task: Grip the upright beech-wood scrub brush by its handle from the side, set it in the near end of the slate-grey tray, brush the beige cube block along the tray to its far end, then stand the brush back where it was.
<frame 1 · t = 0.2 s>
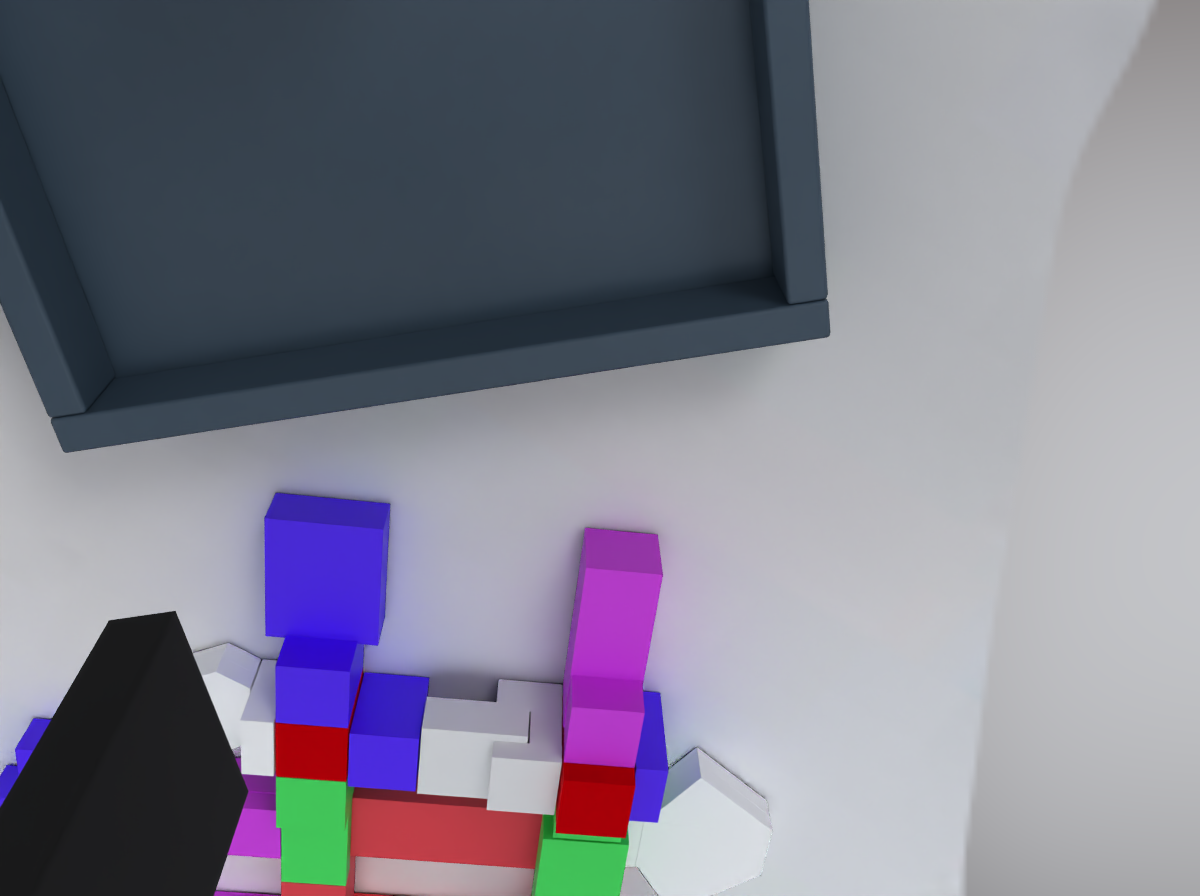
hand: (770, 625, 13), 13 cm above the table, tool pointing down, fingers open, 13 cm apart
building block set: (396, 878, 33), on the table
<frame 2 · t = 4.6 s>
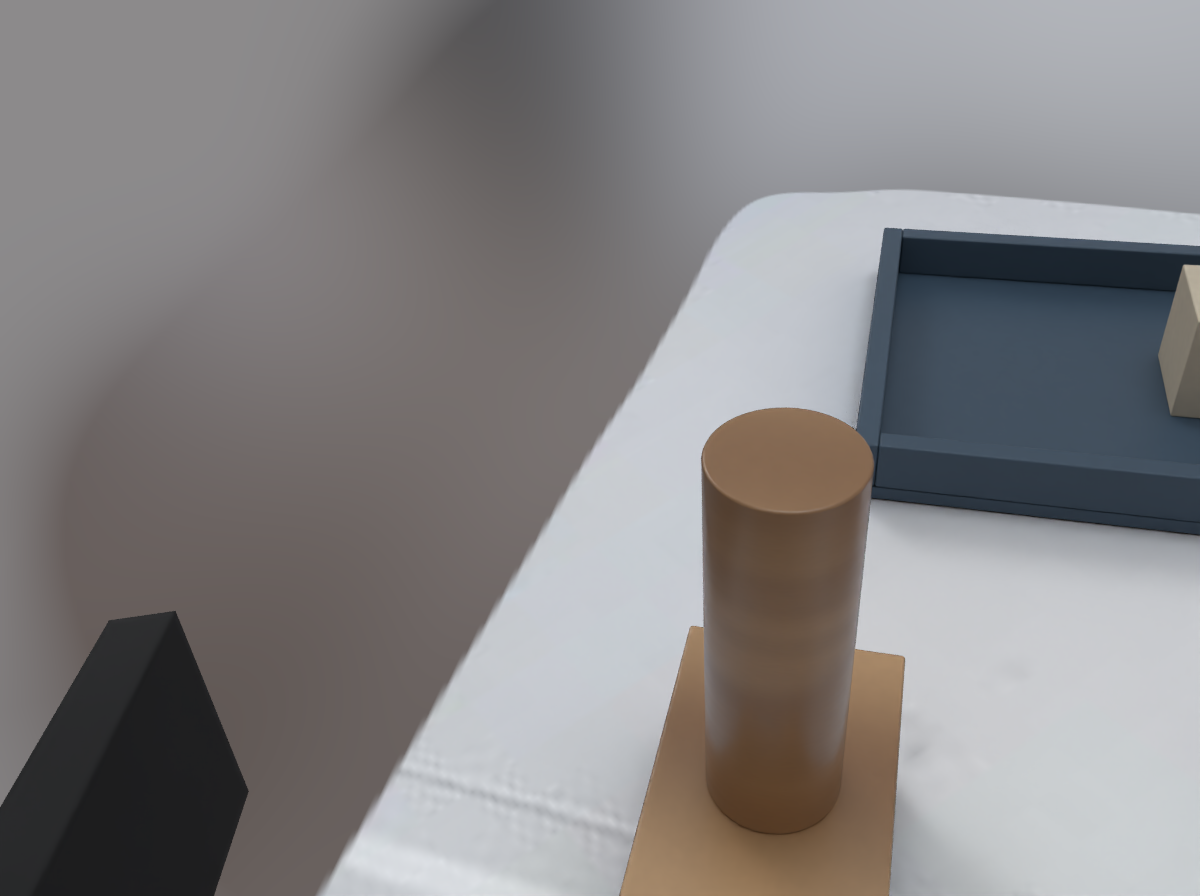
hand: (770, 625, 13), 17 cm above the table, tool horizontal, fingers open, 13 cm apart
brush: (767, 884, 29), on the table
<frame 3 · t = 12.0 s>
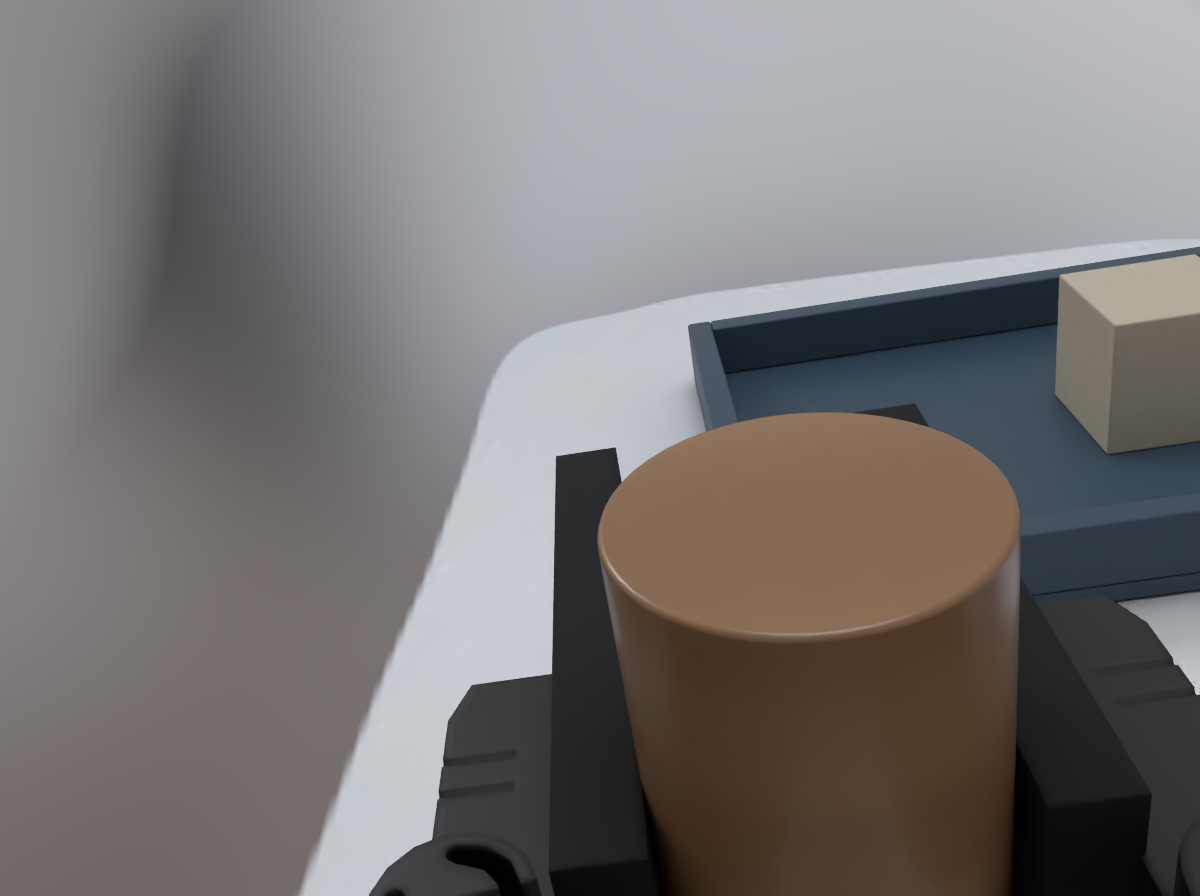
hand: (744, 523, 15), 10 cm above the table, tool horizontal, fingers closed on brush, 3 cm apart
beige cube block: (1147, 413, 34), resting on tray
tray: (1129, 430, 34), on the table
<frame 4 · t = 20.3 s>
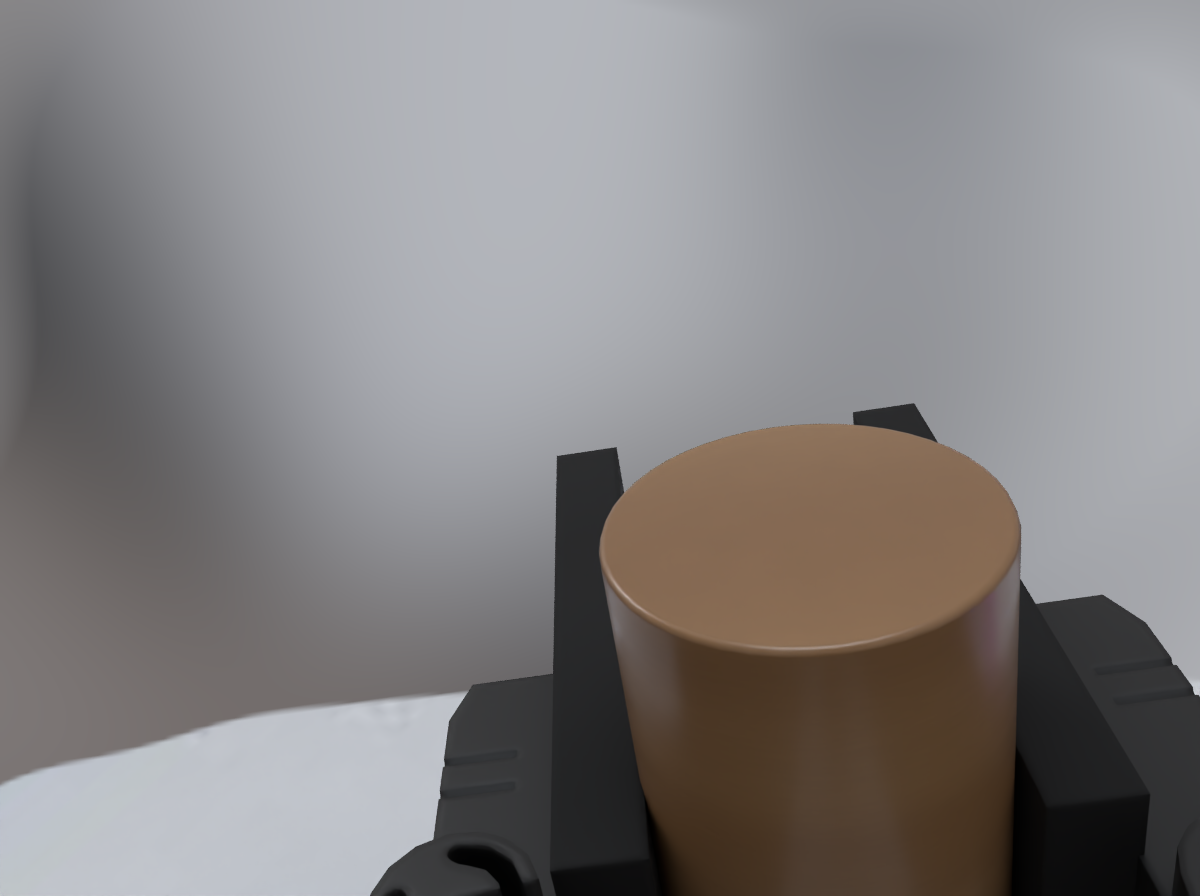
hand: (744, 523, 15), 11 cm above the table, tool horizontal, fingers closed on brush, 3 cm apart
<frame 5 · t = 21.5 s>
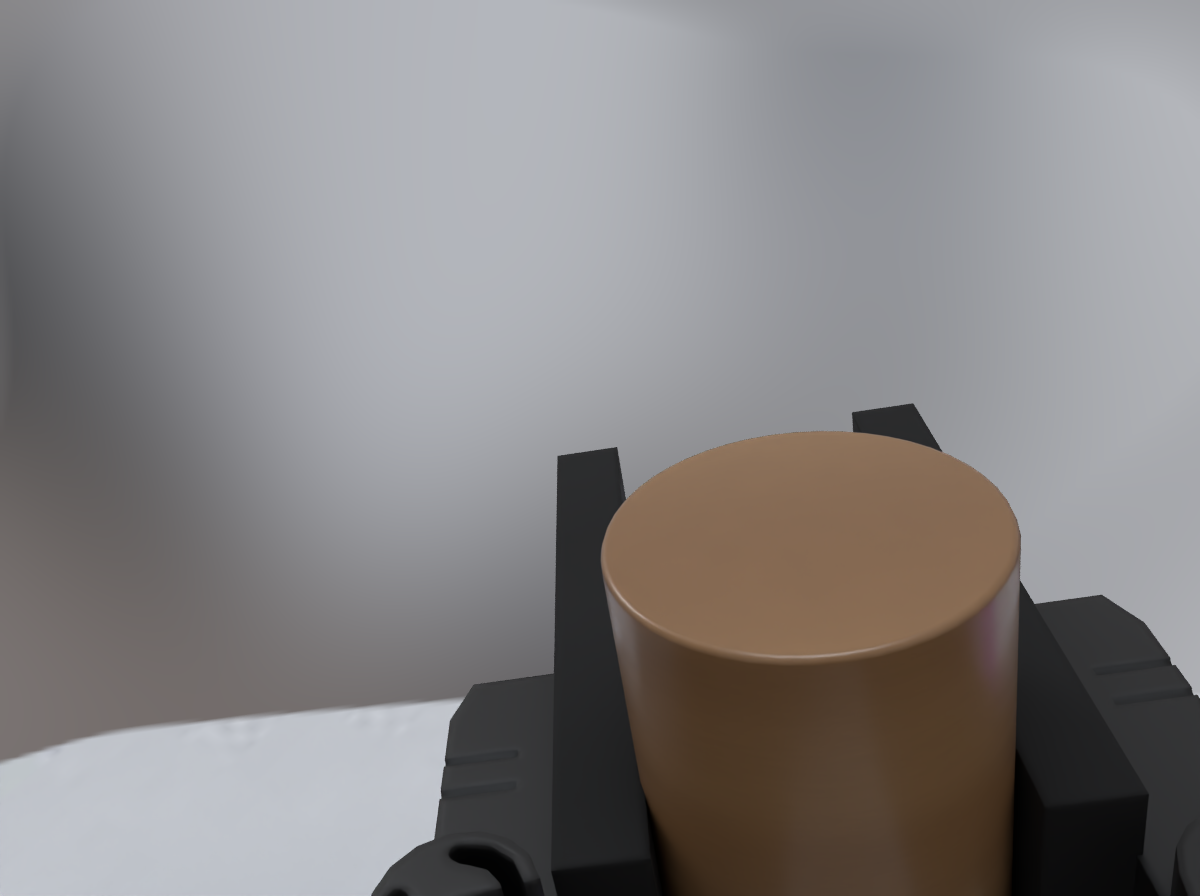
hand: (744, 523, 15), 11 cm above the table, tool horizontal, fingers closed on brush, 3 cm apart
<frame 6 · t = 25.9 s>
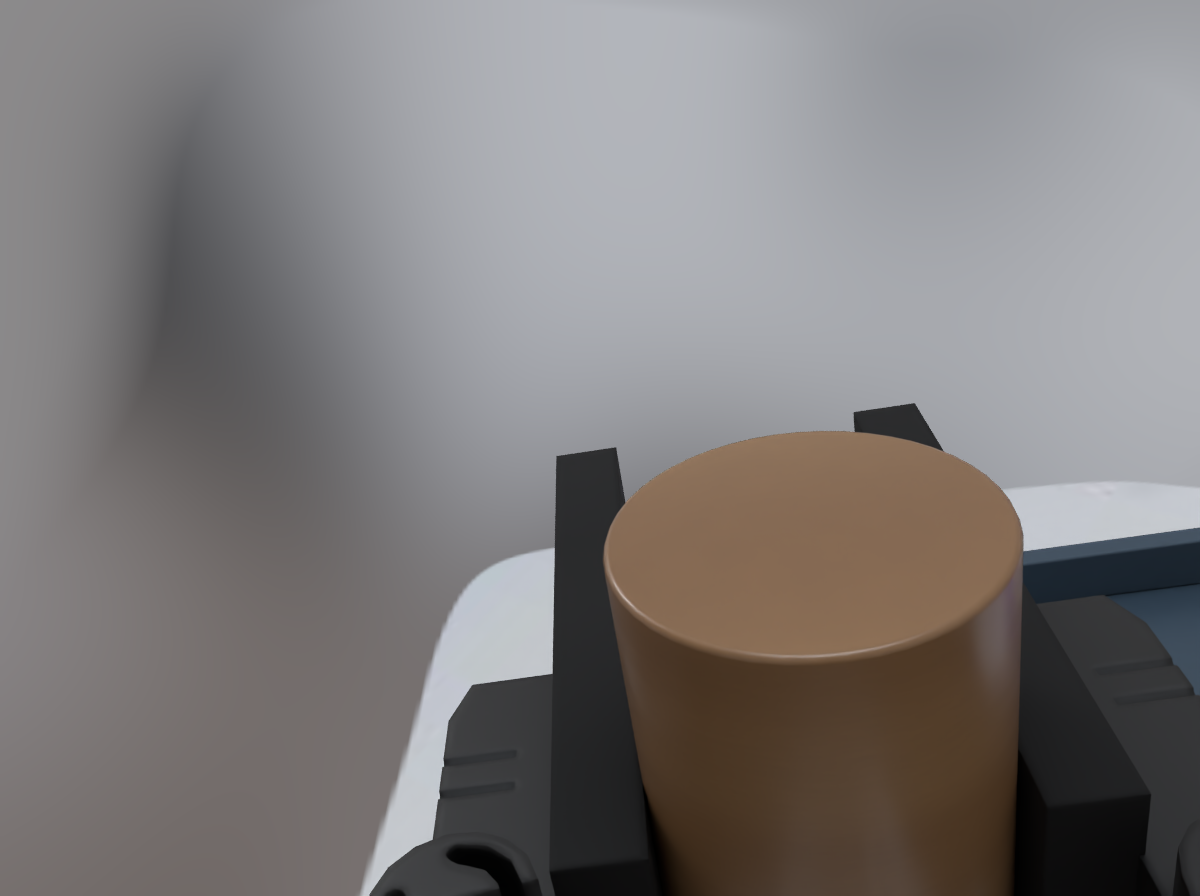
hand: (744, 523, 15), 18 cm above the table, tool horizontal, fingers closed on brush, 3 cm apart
tray: (1074, 768, 33), on the table
when the fingers open (10 cm above the table, at t = 29.0 s): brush stays where it is, on the table.
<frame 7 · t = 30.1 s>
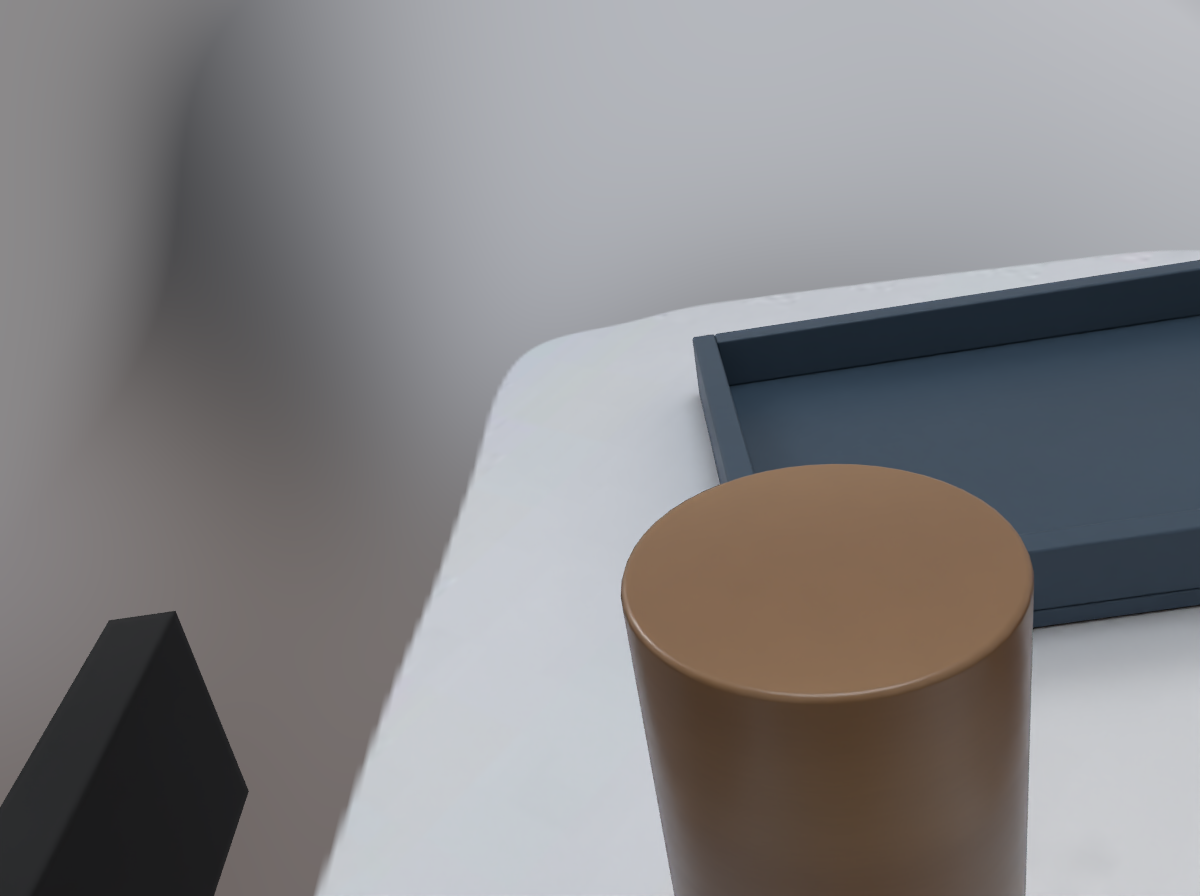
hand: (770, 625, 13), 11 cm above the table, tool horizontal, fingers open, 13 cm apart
tray: (1130, 444, 35), on the table
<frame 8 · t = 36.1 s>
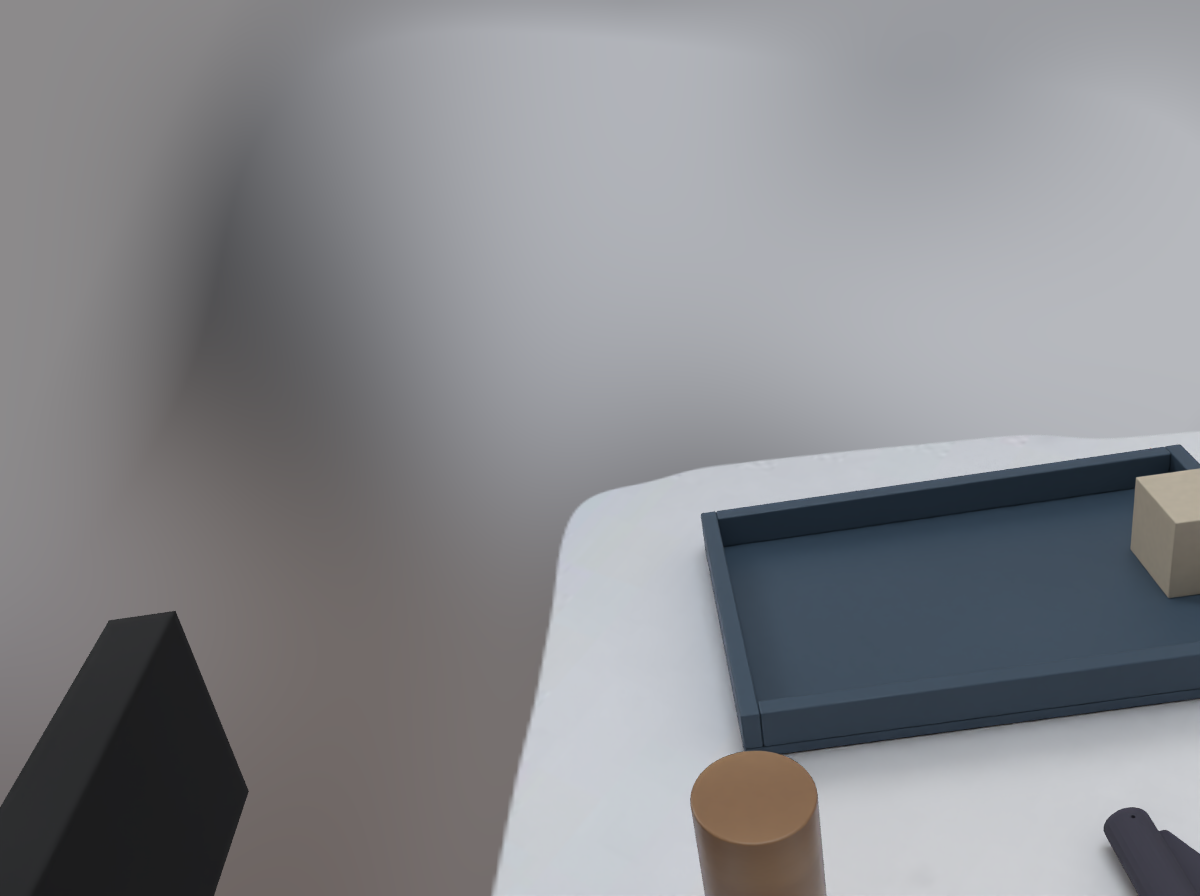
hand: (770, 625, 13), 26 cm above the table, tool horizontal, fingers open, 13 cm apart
beige cube block: (1192, 567, 53), resting on tray
tray: (986, 604, 53), on the table
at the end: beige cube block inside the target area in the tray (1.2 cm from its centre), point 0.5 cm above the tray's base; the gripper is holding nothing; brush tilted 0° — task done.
